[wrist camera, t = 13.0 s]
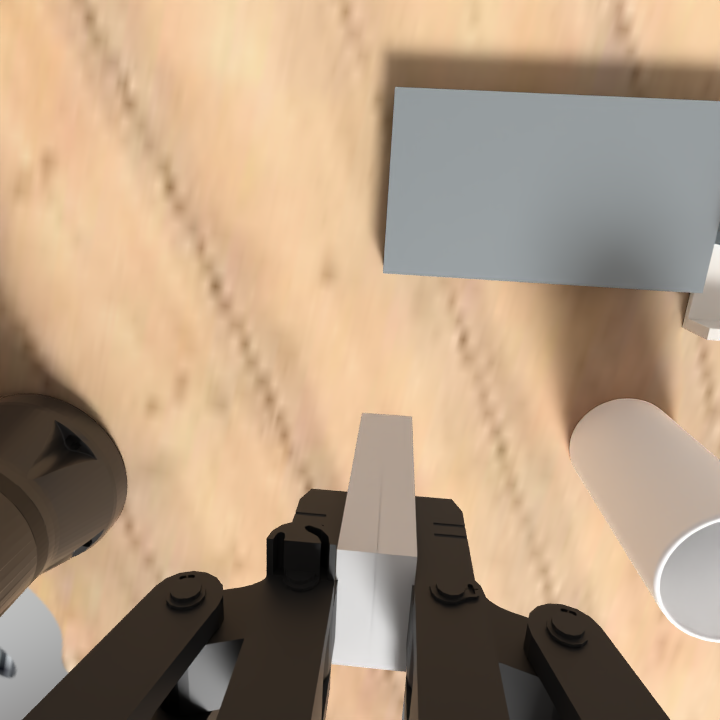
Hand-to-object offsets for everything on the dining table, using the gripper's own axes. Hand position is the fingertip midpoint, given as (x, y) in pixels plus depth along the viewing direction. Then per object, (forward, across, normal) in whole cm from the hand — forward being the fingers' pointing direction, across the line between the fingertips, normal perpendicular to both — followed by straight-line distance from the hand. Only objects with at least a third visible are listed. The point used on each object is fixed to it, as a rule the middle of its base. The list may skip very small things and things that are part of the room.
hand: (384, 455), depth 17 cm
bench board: (+26, +10, +8) cm, 29 cm away
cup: (+27, +19, -11) cm, 34 cm away
